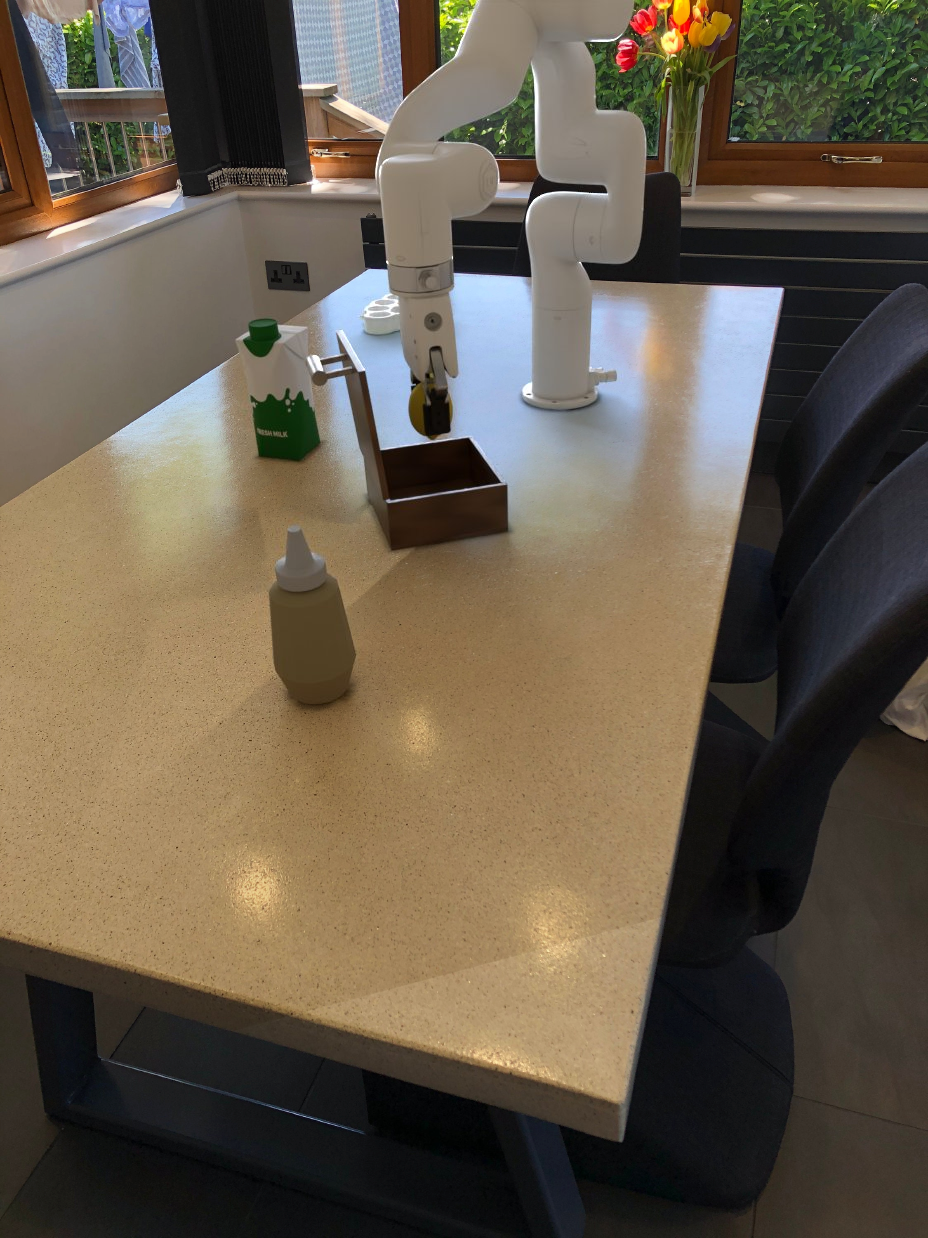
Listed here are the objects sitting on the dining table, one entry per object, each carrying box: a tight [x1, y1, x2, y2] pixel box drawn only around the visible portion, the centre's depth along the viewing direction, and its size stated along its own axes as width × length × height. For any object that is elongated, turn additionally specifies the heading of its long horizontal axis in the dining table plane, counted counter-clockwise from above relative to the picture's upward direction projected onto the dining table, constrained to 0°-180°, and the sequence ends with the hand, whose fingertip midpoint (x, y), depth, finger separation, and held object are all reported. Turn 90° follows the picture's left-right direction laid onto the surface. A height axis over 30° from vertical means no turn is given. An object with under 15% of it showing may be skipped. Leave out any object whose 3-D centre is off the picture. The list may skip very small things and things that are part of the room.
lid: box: [305, 329, 390, 500], centre depth 112 cm, size 16×16×6 cm
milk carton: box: [234, 317, 322, 462], centre depth 136 cm, size 9×9×20 cm
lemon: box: [407, 382, 454, 441], centre depth 115 cm, size 6×6×8 cm
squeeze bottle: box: [268, 525, 357, 705], centre depth 87 cm, size 8×8×18 cm
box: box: [363, 435, 509, 552], centre depth 120 cm, size 15×16×7 cm
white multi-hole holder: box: [357, 293, 401, 336], centre depth 193 cm, size 3×18×15 cm
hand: (431, 422), depth 116 cm, fingers closed on lemon, 5 cm apart
